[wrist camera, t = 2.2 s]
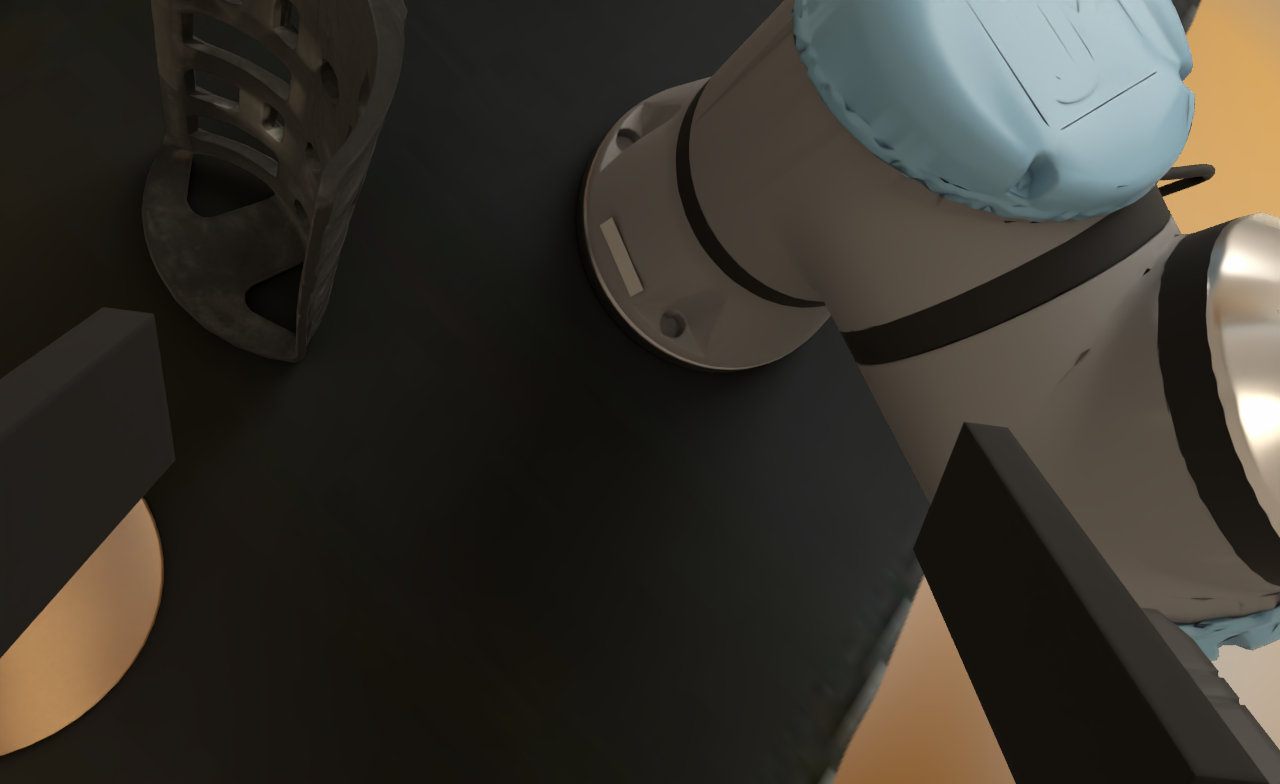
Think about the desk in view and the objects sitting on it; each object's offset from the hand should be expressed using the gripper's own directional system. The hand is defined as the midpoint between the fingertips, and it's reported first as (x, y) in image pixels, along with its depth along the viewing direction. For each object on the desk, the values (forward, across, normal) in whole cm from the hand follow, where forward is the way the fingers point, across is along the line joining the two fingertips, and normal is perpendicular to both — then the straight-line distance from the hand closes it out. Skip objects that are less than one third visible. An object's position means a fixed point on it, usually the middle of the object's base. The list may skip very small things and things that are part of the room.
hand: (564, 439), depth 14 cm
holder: (+24, -15, -7) cm, 29 cm away
